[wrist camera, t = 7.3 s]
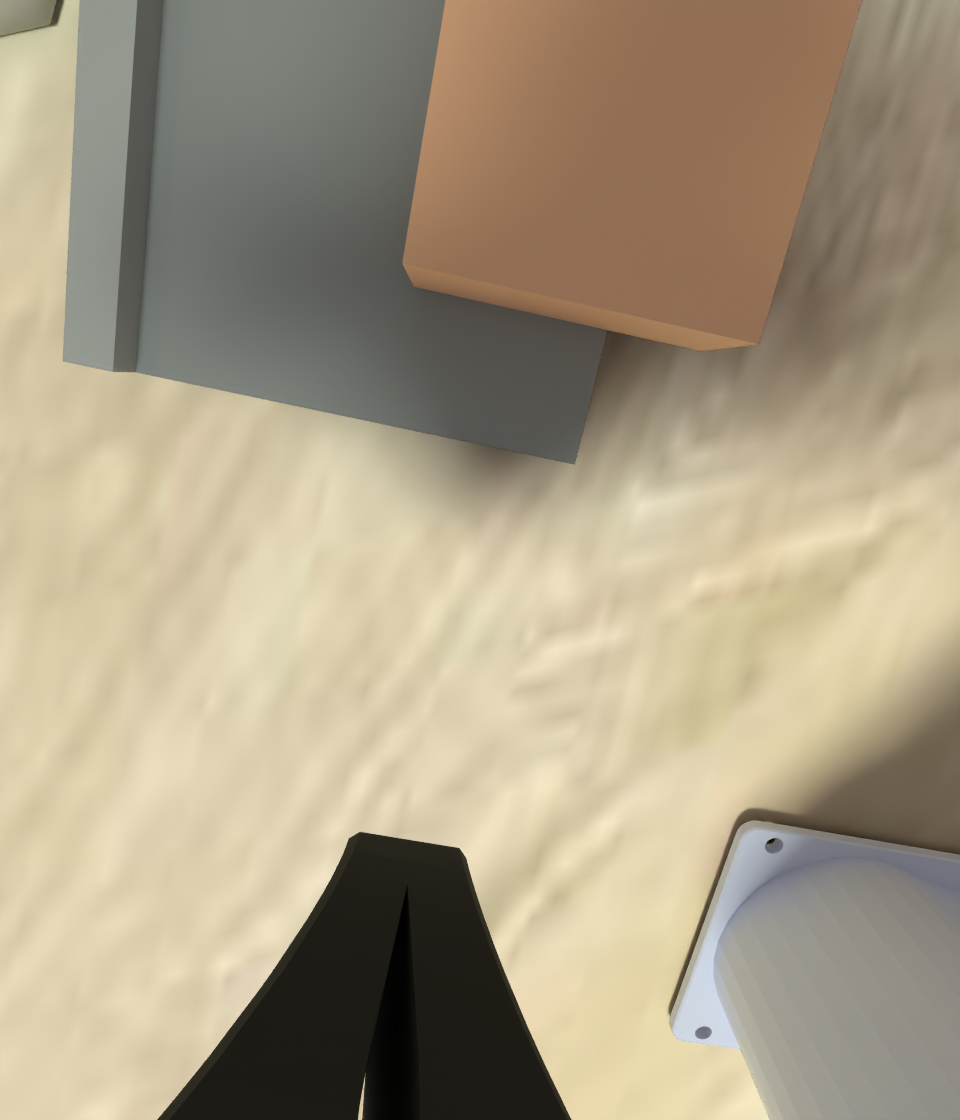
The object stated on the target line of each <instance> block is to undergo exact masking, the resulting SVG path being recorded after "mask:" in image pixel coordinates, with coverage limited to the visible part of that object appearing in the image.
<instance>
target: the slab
mask: <svg viewBox="0 0 960 1120" xmlns="http://www.w3.org/2000/svg"><path fill="white" fill-rule="evenodd" d="M861 3H862V0H445V6H444V12H443V18H442V24H441V30H440V36H439V42H438V48H437V55H436V61H435V67H434V73H433V79H432V85H431V91H430V97H429V103H428V109H427V116H426V122H425V128H424V134H423V140H422V146H421V152H420V158H419V164H418V170H417V177H416V183H415V189H414V195H413V201H412V207H411V213H410V219H409V225H408V231H407V238H406V244H405V250H404V256H403V262H402V264H403V266H404V268H405V270H406V272H407V274H408V276H409V278H410V280H411V282H412V284H413V286H414V287H417V288H422V289H426V290H431V291H435V292H440V293H444V294H449V295H453V296H457V297H462V298H466V299H471V300H475V301H480V302H484V303H489V304H493V305H498V306H502V307H506V308H511V309H515V310H520V311H524V312H529V313H533V314H538V315H542V316H547V317H551V318H555V319H560V320H564V321H569V322H573V323H578V324H582V325H587V326H591V327H596V328H600V329H604V330H609V331H613V332H618V333H622V334H627V335H631V336H636V337H640V338H644V339H649V340H653V341H658V342H662V343H667V344H671V345H676V346H680V347H685V348H689V349H693V350H698V351H706V350H715V349H724V348H732V347H741V346H750V345H758V344H759V343H760V339H761V336H762V333H763V329H764V326H765V323H766V319H767V316H768V313H769V309H770V306H771V303H772V299H773V296H774V293H775V289H776V286H777V283H778V279H779V276H780V273H781V269H782V266H783V263H784V259H785V256H786V253H787V249H788V246H789V243H790V239H791V236H792V233H793V229H794V226H795V223H796V219H797V216H798V213H799V209H800V206H801V203H802V199H803V196H804V193H805V189H806V186H807V183H808V179H809V176H810V173H811V169H812V166H813V163H814V159H815V156H816V153H817V149H818V146H819V143H820V139H821V136H822V133H823V129H824V126H825V123H826V119H827V116H828V113H829V109H830V106H831V103H832V99H833V96H834V93H835V89H836V86H837V83H838V79H839V76H840V73H841V69H842V66H843V63H844V59H845V56H846V53H847V49H848V46H849V43H850V39H851V36H852V33H853V29H854V26H855V23H856V19H857V16H858V13H859V9H860V6H861Z"/></svg>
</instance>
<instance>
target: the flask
mask: <svg viewBox="0 0 960 1120" xmlns="http://www.w3.org/2000/svg"><path fill="white" fill-rule="evenodd" d="M56 1H57V0H0V36H2V35H7V34H11V33H16V32H21V31H25V30H30V29H34V28H39V27H44V26H48V25H50V23H51V19H52V16H53V12H54V8H55V5H56Z"/></svg>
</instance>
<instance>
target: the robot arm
mask: <svg viewBox="0 0 960 1120" xmlns="http://www.w3.org/2000/svg"><path fill="white" fill-rule="evenodd" d="M772 838H776V840H775V841H774V842H773V843H771V844H766V843H767V841H768V840H770V839H772ZM669 1024H670V1027H671V1030H672V1033H673V1036H674V1037H675V1038H676V1039H678V1040H681V1041H684V1042H690V1043H697V1044H705V1045H712V1046H719V1047H726V1048H733V1049H740V1050H741V1052H742V1055H743V1057H744V1059H745V1062H746V1064H747V1067H748V1069H749V1071H750V1074H751V1076H752V1079H753V1081H754V1083H755V1086H756V1088H757V1091H758V1093H759V1095H760V1098H761V1100H762V1103H763V1105H764V1107H765V1110H766V1112H767V1115H768V1117H769V1119H770V1120H960V855H959V854H953V853H947V852H941V851H935V850H929V849H923V848H917V847H912V846H906V845H900V844H894V843H888V842H882V841H876V840H870V839H864V838H858V837H852V836H846V835H841V834H835V833H829V832H823V831H817V830H811V829H805V828H799V827H793V826H787V825H781V824H775V823H769V822H764V821H749V822H746V823H744V824H743V825H741V826H740V827H739V829H738V830H737V832H736V835H735V837H734V840H733V843H732V846H731V848H730V851H729V854H728V857H727V860H726V862H725V865H724V868H723V871H722V874H721V876H720V879H719V882H718V885H717V888H716V890H715V893H714V896H713V899H712V901H711V904H710V907H709V910H708V913H707V915H706V918H705V921H704V924H703V927H702V929H701V932H700V935H699V938H698V940H697V943H696V946H695V949H694V952H693V954H692V957H691V960H690V963H689V966H688V968H687V971H686V974H685V977H684V979H683V982H682V985H681V988H680V991H679V993H678V996H677V999H676V1002H675V1005H674V1007H673V1010H672V1013H671V1016H670V1019H669ZM365 1072H366V1073H365ZM364 1077H365V1088H364V1103H363V1118H362V1120H571V1118H570V1116H569V1114H568V1112H567V1110H566V1108H565V1106H564V1104H563V1101H562V1099H561V1097H560V1095H559V1093H558V1091H557V1089H556V1087H555V1085H554V1083H553V1081H552V1079H551V1077H550V1075H549V1072H548V1070H547V1068H546V1066H545V1064H544V1062H543V1060H542V1058H541V1055H540V1053H539V1051H538V1049H537V1047H536V1044H535V1042H534V1040H533V1038H532V1036H531V1033H530V1031H529V1029H528V1027H527V1024H526V1022H525V1020H524V1017H523V1015H522V1012H521V1010H520V1008H519V1005H518V1003H517V1001H516V998H515V996H514V993H513V991H512V989H511V986H510V984H509V981H508V979H507V977H506V974H505V972H504V969H503V967H502V964H501V962H500V959H499V957H498V954H497V951H496V949H495V946H494V944H493V941H492V938H491V935H490V932H489V930H488V927H487V924H486V921H485V919H484V916H483V913H482V910H481V907H480V904H479V901H478V898H477V895H476V892H475V888H474V885H473V882H472V878H471V875H470V871H469V868H468V864H467V860H466V857H465V856H464V854H463V853H462V851H461V850H460V848H455V847H449V846H443V845H437V844H431V843H424V842H418V841H412V840H406V839H400V838H394V837H388V836H381V835H375V834H369V833H363V832H359V833H357V834H356V835H354V836H352V837H351V838H349V840H348V842H347V845H346V848H345V851H344V853H343V855H342V858H341V860H340V862H339V864H338V866H337V868H336V870H335V872H334V874H333V876H332V878H331V880H330V882H329V883H328V885H327V887H326V889H325V891H324V892H323V894H322V896H321V897H320V899H319V901H318V902H317V904H316V906H315V907H314V909H313V911H312V912H311V914H310V916H309V917H308V919H307V920H306V922H305V923H304V925H303V926H302V928H301V929H300V931H299V932H298V934H297V935H296V937H295V939H294V940H293V942H292V943H291V945H290V946H289V948H288V949H287V951H286V952H285V954H284V955H283V957H282V958H281V960H280V961H279V963H278V964H277V966H276V967H275V969H274V970H273V972H272V973H271V974H270V976H269V977H268V979H267V980H266V981H265V983H264V984H263V986H262V987H261V988H260V990H259V991H258V992H257V994H256V995H255V996H254V998H253V999H252V1000H251V1002H250V1003H249V1004H248V1006H247V1007H246V1008H245V1010H244V1011H243V1012H242V1014H241V1015H240V1016H239V1018H238V1019H237V1020H236V1022H235V1023H234V1024H233V1025H232V1027H231V1028H230V1029H229V1031H228V1032H227V1033H226V1035H225V1036H224V1037H223V1039H222V1040H221V1041H220V1043H219V1044H218V1045H217V1047H216V1048H215V1049H214V1051H213V1052H212V1053H211V1055H210V1056H209V1057H208V1058H207V1060H206V1061H205V1062H204V1063H203V1065H202V1066H201V1067H200V1068H199V1070H198V1071H197V1072H196V1073H195V1075H194V1076H193V1077H192V1078H191V1080H190V1081H189V1082H188V1083H187V1085H186V1086H185V1087H184V1088H183V1089H182V1091H181V1092H180V1093H179V1094H178V1096H177V1097H176V1098H175V1099H174V1100H173V1102H172V1103H171V1104H170V1105H169V1106H168V1108H167V1109H166V1110H165V1111H164V1112H163V1114H162V1115H161V1116H160V1117H159V1118H158V1120H358V1113H359V1105H360V1100H361V1094H362V1088H363V1083H364Z"/></svg>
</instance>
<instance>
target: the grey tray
mask: <svg viewBox="0 0 960 1120" xmlns="http://www.w3.org/2000/svg"><path fill="white" fill-rule="evenodd" d="M444 6H445V0H80V6H79V28H78V49H77V70H76V92H75V113H74V134H73V156H72V177H71V198H70V219H69V241H68V262H67V283H66V305H65V326H64V347H63V361H64V362H68V363H73V364H78V365H83V366H88V367H92V368H97V369H102V370H107V371H111V372H137V373H142V374H146V375H151V376H156V377H161V378H165V379H170V380H175V381H180V382H185V383H189V384H194V385H199V386H204V387H208V388H213V389H218V390H223V391H227V392H232V393H237V394H242V395H247V396H251V397H256V398H261V399H266V400H270V401H275V402H280V403H285V404H289V405H294V406H299V407H304V408H308V409H313V410H318V411H323V412H328V413H332V414H337V415H342V416H347V417H351V418H356V419H361V420H366V421H370V422H375V423H380V424H385V425H390V426H394V427H399V428H404V429H409V430H413V431H418V432H423V433H428V434H432V435H437V436H442V437H447V438H452V439H456V440H461V441H466V442H471V443H475V444H480V445H485V446H490V447H494V448H499V449H504V450H509V451H513V452H518V453H523V454H528V455H533V456H537V457H542V458H547V459H552V460H556V461H561V462H566V463H571V464H575V461H576V457H577V453H578V449H579V445H580V441H581V437H582V433H583V429H584V425H585V420H586V416H587V412H588V408H589V404H590V400H591V396H592V392H593V388H594V384H595V380H596V376H597V372H598V368H599V363H600V359H601V355H602V351H603V347H604V343H605V339H606V335H607V331H608V330H604V329H600V328H596V327H591V326H587V325H582V324H578V323H573V322H569V321H564V320H560V319H555V318H551V317H547V316H542V315H538V314H533V313H529V312H524V311H520V310H515V309H511V308H506V307H502V306H498V305H493V304H489V303H484V302H480V301H475V300H471V299H466V298H462V297H457V296H453V295H449V294H444V293H440V292H435V291H431V290H426V289H422V288H417V287H414V286H413V284H412V282H411V280H410V278H409V276H408V274H407V272H406V270H405V268H404V266H403V264H402V262H403V256H404V250H405V244H406V238H407V231H408V225H409V219H410V213H411V207H412V201H413V195H414V189H415V183H416V177H417V170H418V164H419V158H420V152H421V146H422V140H423V134H424V128H425V122H426V116H427V109H428V103H429V97H430V91H431V85H432V79H433V73H434V67H435V61H436V55H437V48H438V42H439V36H440V30H441V24H442V18H443V12H444Z"/></svg>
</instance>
